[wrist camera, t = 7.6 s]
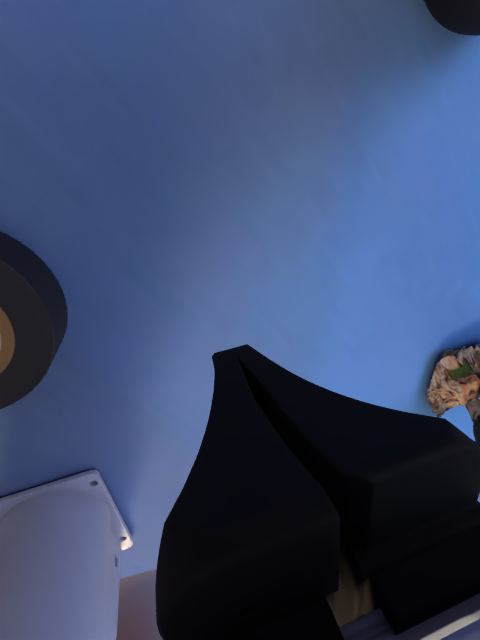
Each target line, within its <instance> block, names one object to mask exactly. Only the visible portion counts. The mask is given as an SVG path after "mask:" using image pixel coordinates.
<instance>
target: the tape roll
mask: <svg viewBox="0 0 480 640" xmlns="http://www.w3.org/2000/svg"><path fill="white" fill-rule="evenodd" d="M66 326H67V306H66V301H65V297H64V294H63V292H62V289H61V287H60V285H59V283H58V281H57V279H56V278H55V276H54V275H53V273H52V272H51V270H50V269H49V268H48V267H47V266H46V265H45V263H44V262H43V261H42V260H41V259H40V258H39V257H38V256H37V255H35V254H34V253H33V252H32V251H31V250H30V249H28V248H27V247H26V246H24V245H23V244H21V243H20V242H18V241H17V240H15V239H13V238H12V237H10V236H8V235H6V234H4V233H2V232H0V409H2V408H4V407H6V406H9V405H11V404H13V403H15V402H16V401H18V400H20V399H21V398H23V397H24V396H26V395H27V394H28V393H29V392H31V391H32V390H33V389H34V388H35V387H36V386H37V385H38V384H39V383H40V382H41V380H42V379H43V377H44V376H45V375H46V373H47V371H48V369H49V367H50V365H51V363H52V361H53V359H54V357H55V354H56V352H57V350H58V348H59V346H60V344H61V342H62V339H63V337H64V334H65V331H66Z"/></svg>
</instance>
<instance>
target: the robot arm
mask: <svg viewBox="0 0 480 640" xmlns="http://www.w3.org/2000/svg"><path fill="white" fill-rule="evenodd" d="M212 359H213V364H214V369H215V380H214V393H213V399H212V405H211V411H210V415H209V420H208V424H207V427H206V431H205V434H204V437H203V440H202V443H201V446H200V449H199V452H198V455H197V457H196V460H195V462H194V465H193V467H192V469H191V471H190V474H189V476H188V478H187V481H186V483H185V485H184V487H183V489H182V491H181V493H180V495H179V497H178V499H177V501H176V502H175V504H174V506H173V508H172V510H171V512H170V514H169V516H168V517H167V519H166V521H165V523H164V528H163V533H162V538H161V543H160V549H159V556H158V563H157V572H156V616H157V617H156V618H157V626H158V630H159V633H160V635H161V637H162V638H163V640H480V503H479V502H478V501H477V499H478V496H479V493H480V446H479V445H478V444H476V443H475V442H474V441H473V440H471V439H470V438H469V437H468V436H467V435H465V434H464V433H463V432H462V431H460V430H459V429H458V428H457V427H455V426H454V425H453V424H451V423H450V422H449V421H447V420H446V419H443V418H437V417H431V416H425V415H419V414H413V413H407V412H402V411H398V410H393V409H389V408H385V407H381V406H376V405H373V404H369V403H365V402H362V401H359V400H356V399H353V398H350V397H346V396H343V395H340V394H338V393H335V392H332V391H330V390H327V389H325V388H323V387H320V386H318V385H315V384H313V383H311V382H309V381H307V380H305V379H303V378H301V377H299V376H297V375H295V374H293V373H291V372H289V371H288V370H286V369H284V368H283V367H281V366H279V365H278V364H276V363H274V362H273V361H271V360H270V359H268V358H267V357H265V356H264V355H262V354H261V353H259V352H258V351H256V350H255V349H253V348H252V347H250V346H249V345H247V344H246V345H243V346H239V347H235V348H232V349H228V350H224V351H221V352H217V353H214V355H213V356H212ZM93 481H94V482H93ZM132 545H133V538H132V536H131V534H130V532H129V530H128V528H127V526H126V524H125V523H124V521H123V519H122V517H121V515H120V513H119V511H118V509H117V507H116V505H115V503H114V501H113V499H112V497H111V495H110V493H109V491H108V489H107V487H106V485H105V483H104V481H103V479H102V477H101V475H100V473H99V472H98V471H96V470H89V471H86V472H83V473H79V474H76V475H73V476H70V477H67V478H63V479H60V480H57V481H54V482H51V483H48V484H44V485H41V486H38V487H35V488H32V489H28V490H25V491H22V492H19V493H16V494H13V495H9V496H6V497H3V498H0V640H116V634H117V616H118V597H119V578H120V559H121V551H122V550H125V549H127V548H130V547H131V546H132Z"/></svg>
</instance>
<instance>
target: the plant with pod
mask: <svg viewBox="0 0 480 640" xmlns="http://www.w3.org/2000/svg"><path fill="white" fill-rule="evenodd" d="M430 386H432V387H431V388H429V389H428V390H426V391H432V392H429V393H426V394H425V395H426V399H428V401H427V402H429V404H430V405H432V409H433V411H434V413H436V414H437V415H438V416H437V415H435V416H437V418H438V417H439V416H440V417H441V414H442V415H443V413H444V412H445V411H447V410H449V409H451V408H453V407H456V406H458V405H463V406H465V407H466V408H467V410H468V412H469V414H470V416H471V419H472V421H473V423H474V425H473V433H474V437H475V441H474V442H475V443H476V444H478V445H479V446H480V400H479V399H478V398H480V347H479V346H478V345H477V344H476V347H475V350H474V348H473V347H472V346H470V347H469V348H467V349H466V347H465V346H464V347H463V348H462V349H460V348H459V349H458V351H457V350H455V351H454V352H453V349H452V350H450V351H448V350H446V351H445V352H444V354H443V355H442V356H441V357H440V359H439V360H438V363H437V365H436V367H435V369H434V370H433V378H432V379H431V384H430ZM432 413H433V412H432Z"/></svg>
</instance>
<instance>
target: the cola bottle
mask: <svg viewBox="0 0 480 640" xmlns="http://www.w3.org/2000/svg"><path fill="white" fill-rule="evenodd" d="M424 1H425V4H426V6H427V8H428V9H429V11H430V13H431V14H432V16H433V17H434V18H435V19H436V20H437V21H438V22H439V23H440V24H441V25H442V26H443V27H445V28H446V29H448V30H450V31H452V32H455V33H458V34H463V35H480V0H424Z"/></svg>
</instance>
